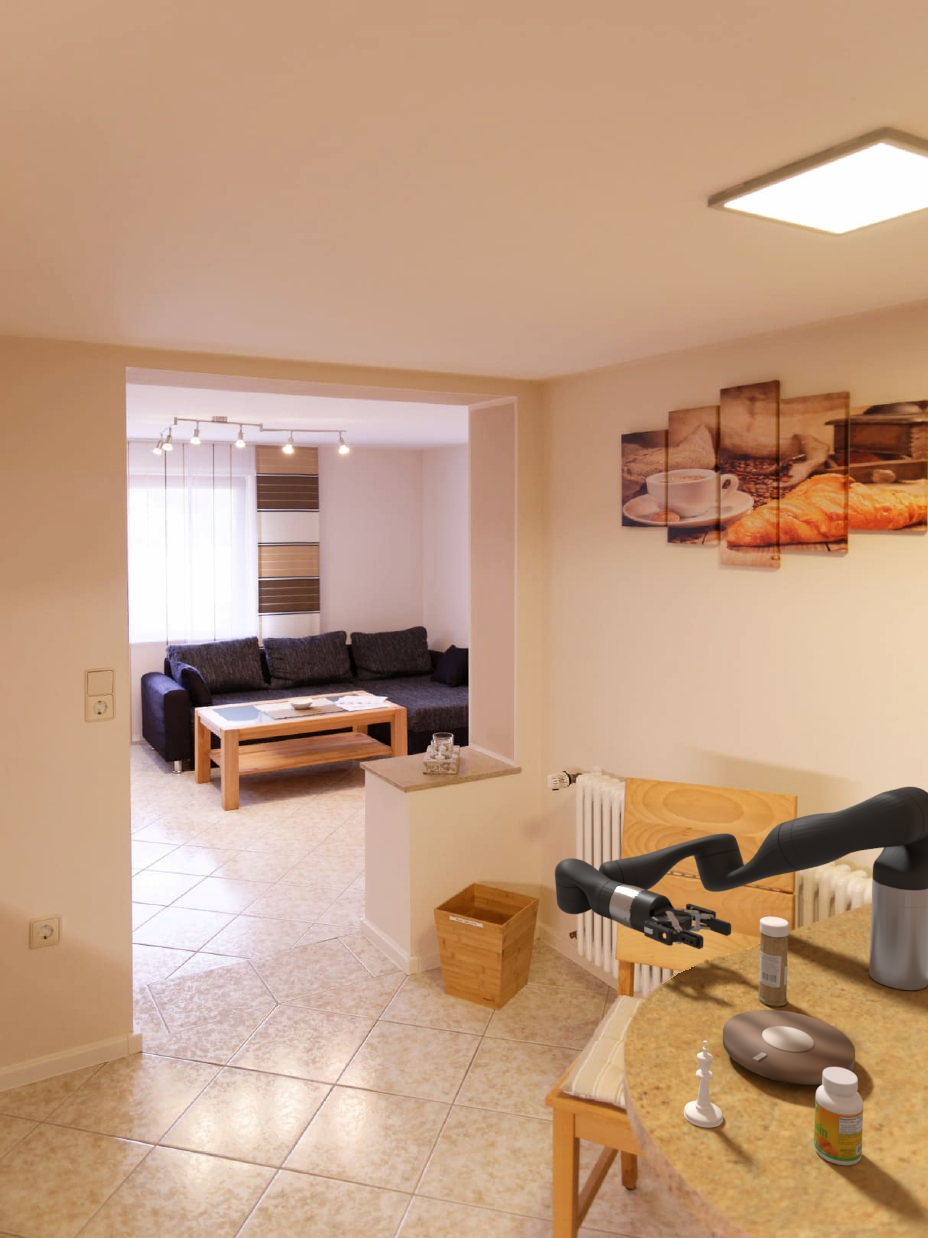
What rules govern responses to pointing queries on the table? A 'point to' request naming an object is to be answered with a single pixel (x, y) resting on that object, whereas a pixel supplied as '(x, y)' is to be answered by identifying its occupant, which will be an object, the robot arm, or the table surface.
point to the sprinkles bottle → (773, 961)
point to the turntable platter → (786, 1045)
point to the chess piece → (703, 1096)
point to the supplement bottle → (838, 1117)
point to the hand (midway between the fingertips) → (716, 936)
